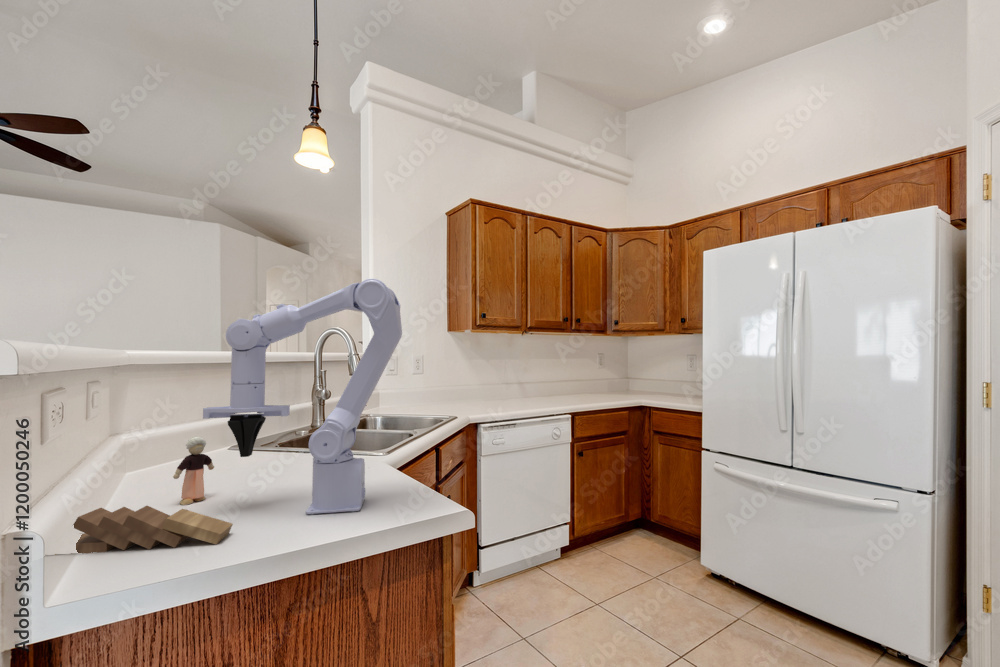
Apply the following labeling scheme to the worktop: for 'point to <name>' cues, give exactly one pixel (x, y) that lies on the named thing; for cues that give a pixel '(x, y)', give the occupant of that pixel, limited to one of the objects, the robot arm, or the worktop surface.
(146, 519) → the domino
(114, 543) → the domino
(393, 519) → the worktop surface
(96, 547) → the domino
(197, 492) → the grandmother figurine
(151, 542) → the domino
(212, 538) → the domino
